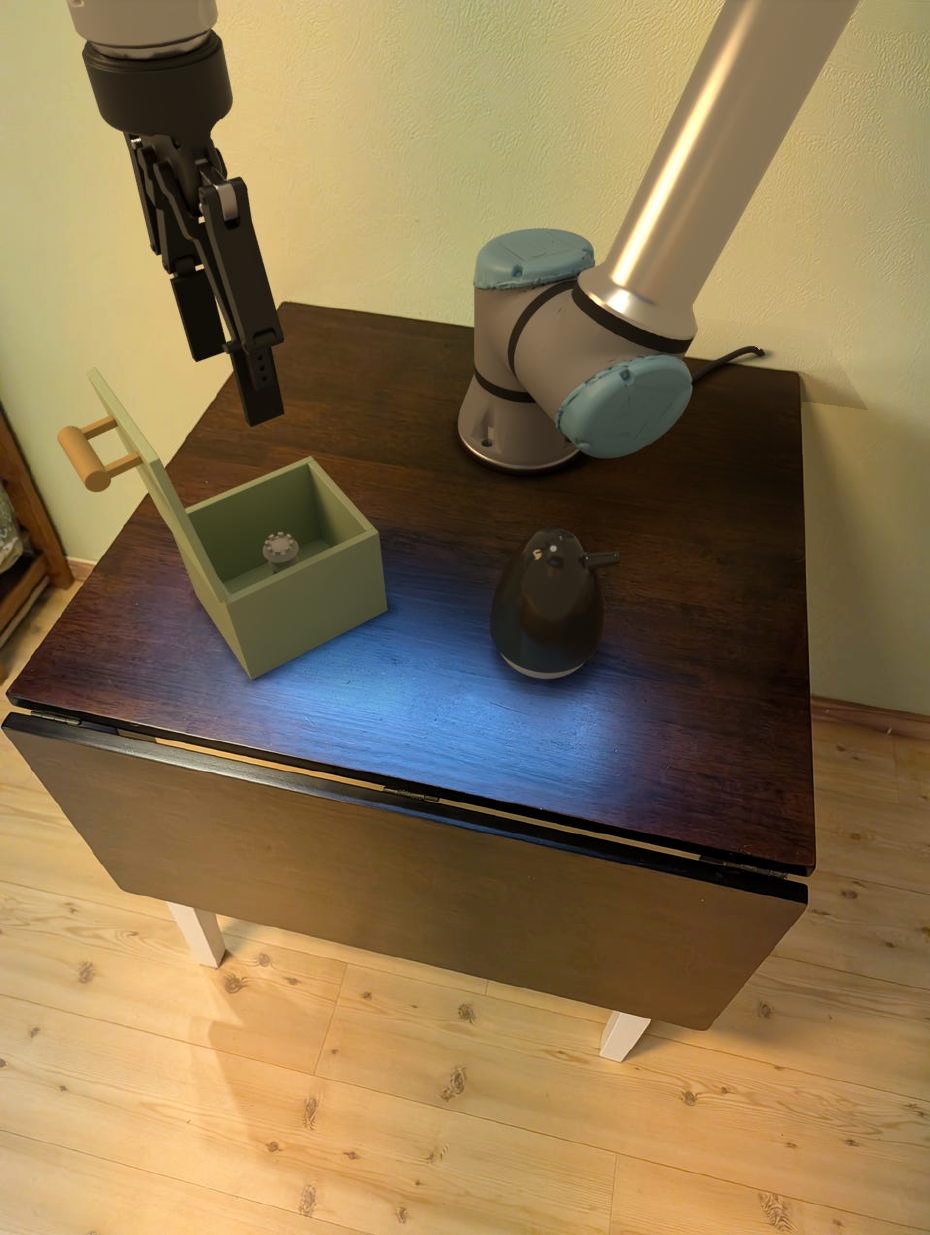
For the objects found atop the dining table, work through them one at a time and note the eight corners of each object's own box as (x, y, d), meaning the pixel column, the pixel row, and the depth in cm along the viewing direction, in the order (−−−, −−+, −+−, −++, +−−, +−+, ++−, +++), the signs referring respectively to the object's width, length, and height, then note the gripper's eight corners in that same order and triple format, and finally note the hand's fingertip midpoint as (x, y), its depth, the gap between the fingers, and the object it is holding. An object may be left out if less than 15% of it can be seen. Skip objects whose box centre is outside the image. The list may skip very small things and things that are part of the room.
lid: (94, 366, 63) (29, 394, 61) (159, 457, 56) (88, 491, 55) (168, 510, 75) (116, 536, 74) (228, 599, 69) (172, 629, 67)
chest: (325, 535, 89) (311, 455, 81) (387, 610, 82) (379, 532, 74) (196, 594, 84) (166, 516, 75) (251, 680, 77) (225, 605, 69)
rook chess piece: (278, 579, 84) (263, 521, 78) (321, 585, 83) (310, 527, 77) (263, 613, 81) (246, 556, 75) (308, 620, 81) (295, 563, 74)
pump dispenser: (593, 705, 75) (617, 595, 64) (479, 686, 77) (482, 574, 65) (604, 618, 82) (628, 503, 70) (499, 602, 83) (504, 486, 71)
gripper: (20, -4, 50) (135, 334, 68) (160, 116, 39) (255, 484, 56) (142, -26, 53) (222, 305, 70) (305, 81, 42) (352, 443, 59)
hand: (236, 384), depth 63 cm, fingers open, 9 cm apart
